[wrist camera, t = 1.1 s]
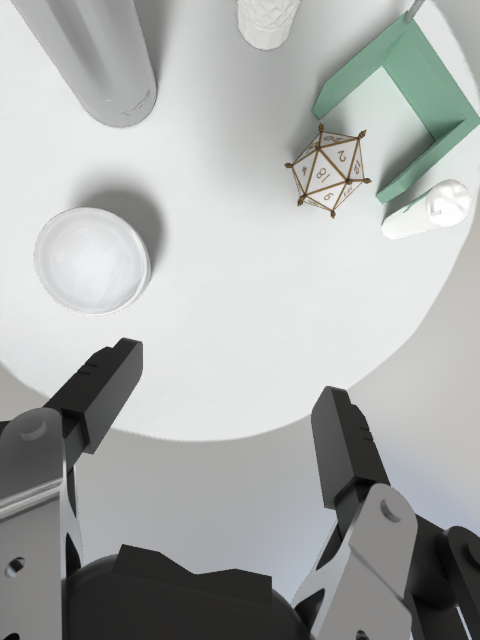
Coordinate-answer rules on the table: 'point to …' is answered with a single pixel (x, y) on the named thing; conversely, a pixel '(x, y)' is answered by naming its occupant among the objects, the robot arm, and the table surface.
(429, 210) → the milkshake
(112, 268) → the ramekin
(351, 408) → the robot arm
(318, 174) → the game die
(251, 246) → the table surface
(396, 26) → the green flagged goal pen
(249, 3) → the white cup
